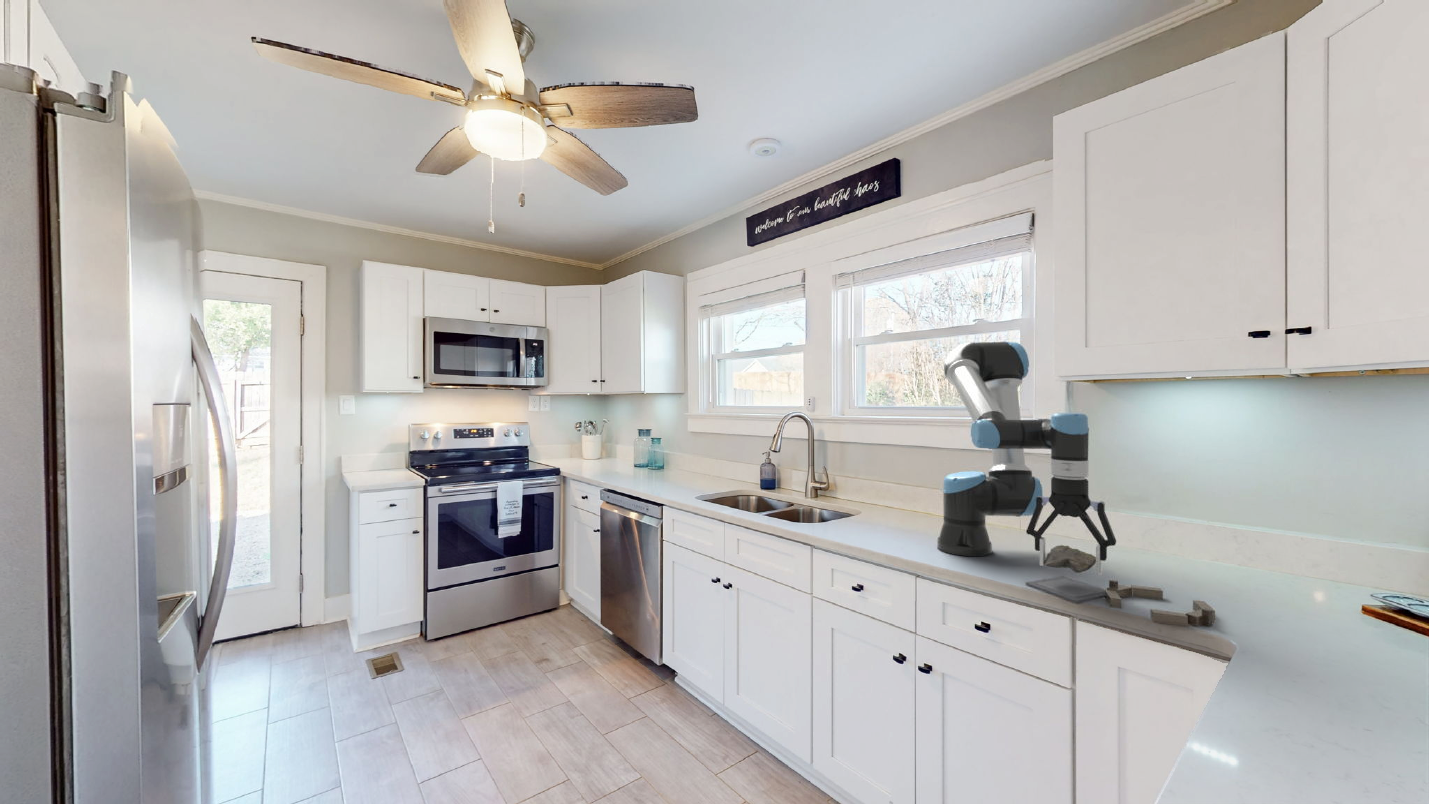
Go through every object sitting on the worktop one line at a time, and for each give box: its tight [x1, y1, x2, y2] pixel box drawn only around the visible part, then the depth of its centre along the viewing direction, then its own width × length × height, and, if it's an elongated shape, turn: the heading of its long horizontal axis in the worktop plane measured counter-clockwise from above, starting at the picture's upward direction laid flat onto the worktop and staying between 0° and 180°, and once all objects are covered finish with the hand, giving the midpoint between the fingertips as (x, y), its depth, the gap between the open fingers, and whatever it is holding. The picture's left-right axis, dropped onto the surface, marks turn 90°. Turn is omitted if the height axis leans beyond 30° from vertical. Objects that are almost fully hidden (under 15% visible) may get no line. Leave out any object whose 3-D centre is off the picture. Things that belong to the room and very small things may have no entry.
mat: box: [1025, 575, 1106, 604], centre depth 133 cm, size 13×13×1 cm
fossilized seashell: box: [1044, 544, 1096, 574], centre depth 133 cm, size 11×11×7 cm
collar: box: [1104, 579, 1216, 628], centre depth 121 cm, size 20×17×3 cm
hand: (1069, 569), depth 132 cm, fingers closed on fossilized seashell, 11 cm apart
